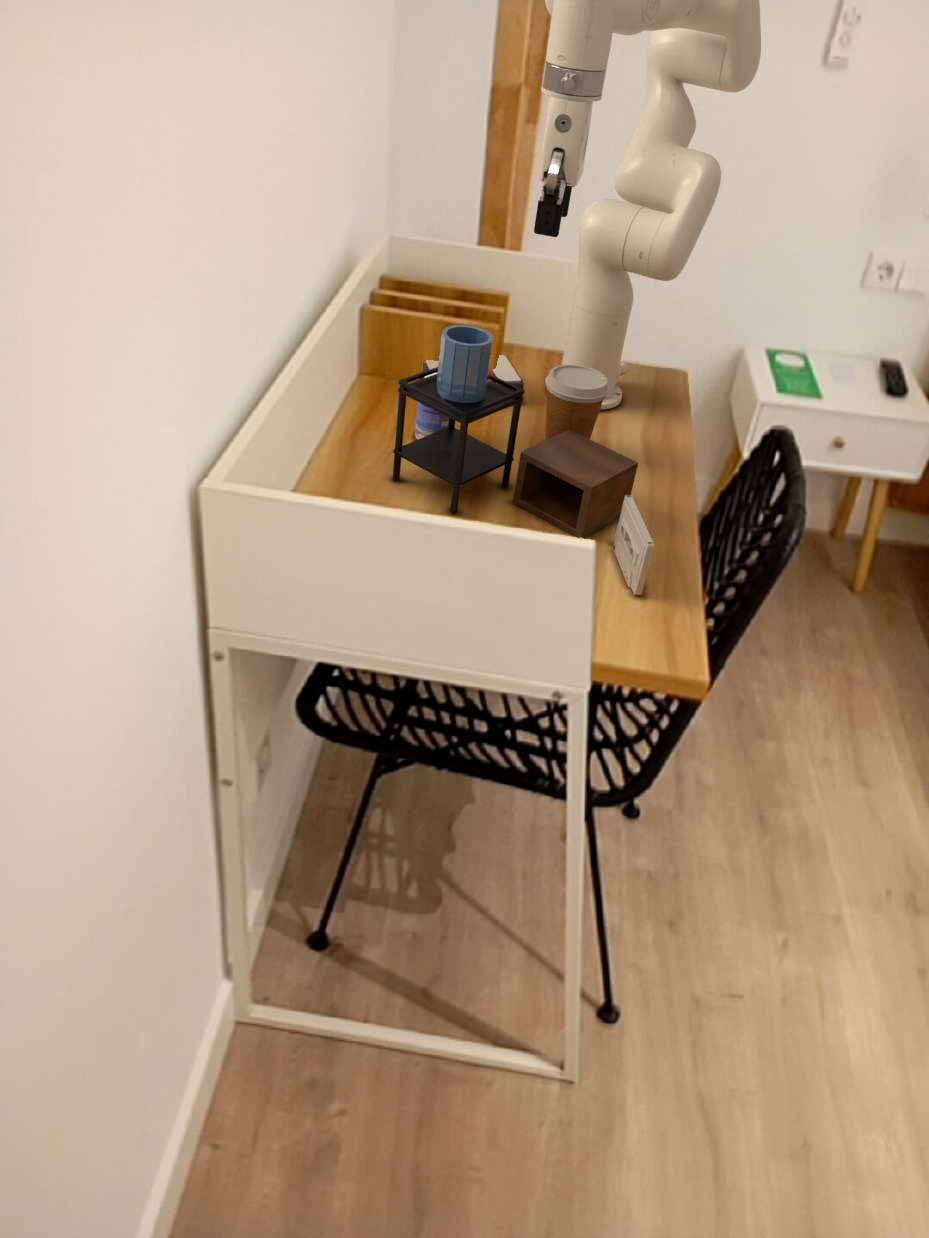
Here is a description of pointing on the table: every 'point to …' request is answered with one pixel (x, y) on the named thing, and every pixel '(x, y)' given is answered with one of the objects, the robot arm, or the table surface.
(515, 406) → the tray
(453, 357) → the blue cup
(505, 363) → the calculator
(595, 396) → the disposable coffee cup
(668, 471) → the table surface
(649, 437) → the table surface
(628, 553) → the cassette
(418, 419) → the pill bottle
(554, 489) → the shelf
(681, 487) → the table surface
